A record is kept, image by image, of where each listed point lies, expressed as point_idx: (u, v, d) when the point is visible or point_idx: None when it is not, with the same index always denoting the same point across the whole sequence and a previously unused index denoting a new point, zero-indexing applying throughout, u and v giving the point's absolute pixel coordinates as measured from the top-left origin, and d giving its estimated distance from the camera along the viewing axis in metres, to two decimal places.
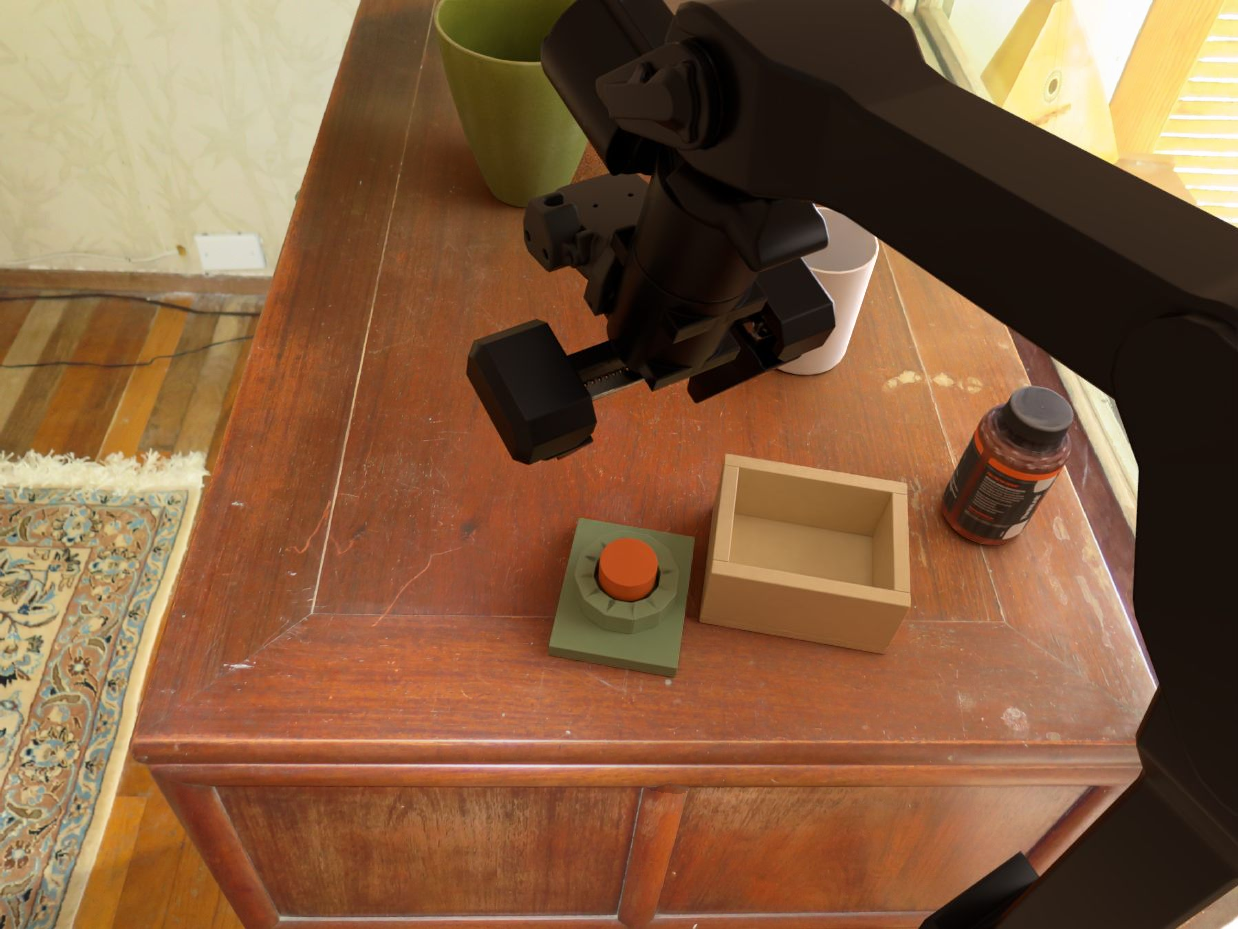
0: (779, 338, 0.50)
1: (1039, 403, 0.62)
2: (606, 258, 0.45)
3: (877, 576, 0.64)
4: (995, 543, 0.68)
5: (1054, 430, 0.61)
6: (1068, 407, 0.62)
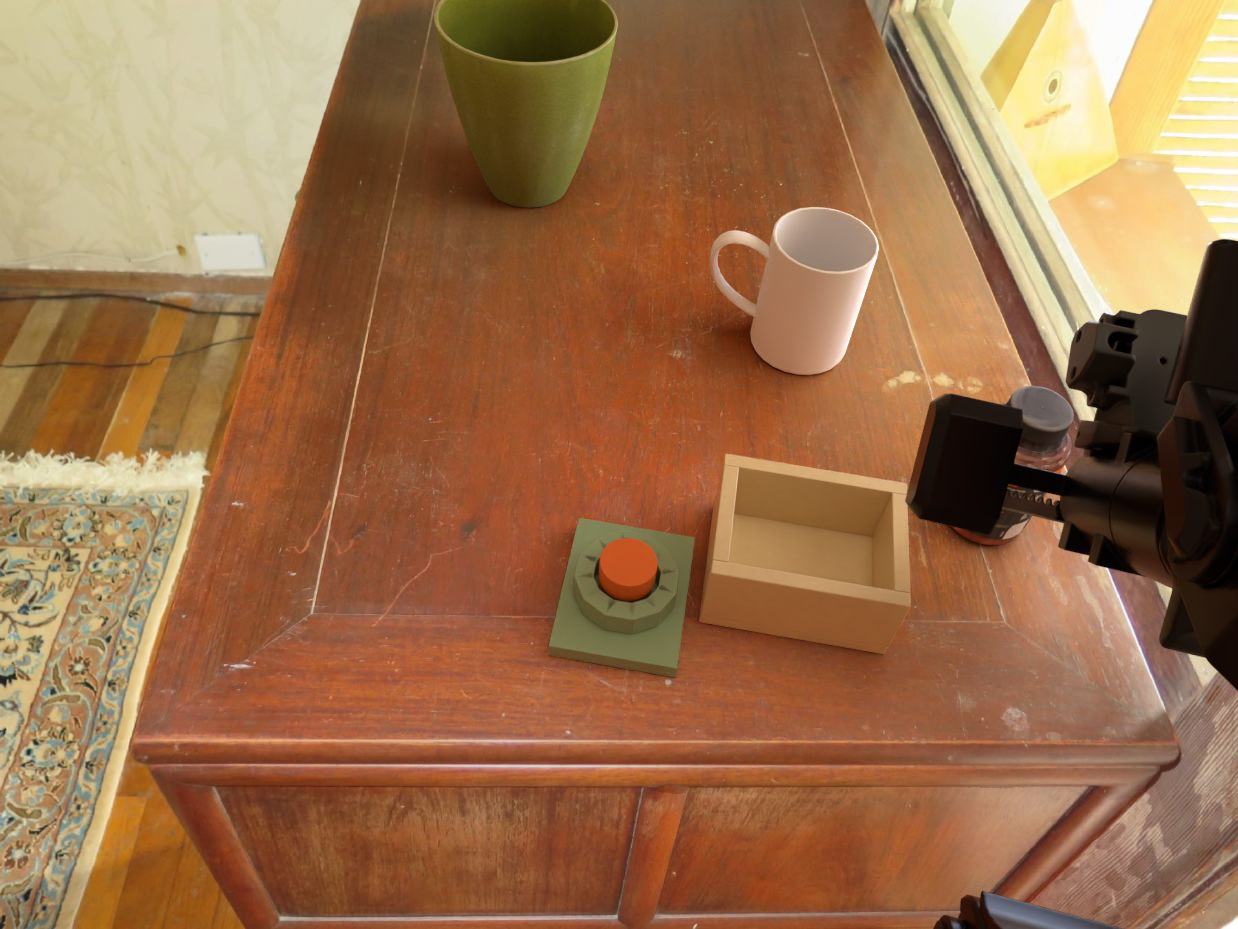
0: None
1: (1039, 403, 0.62)
2: (1113, 433, 0.43)
3: (877, 576, 0.64)
4: (995, 543, 0.68)
5: (1054, 430, 0.61)
6: (1068, 407, 0.62)
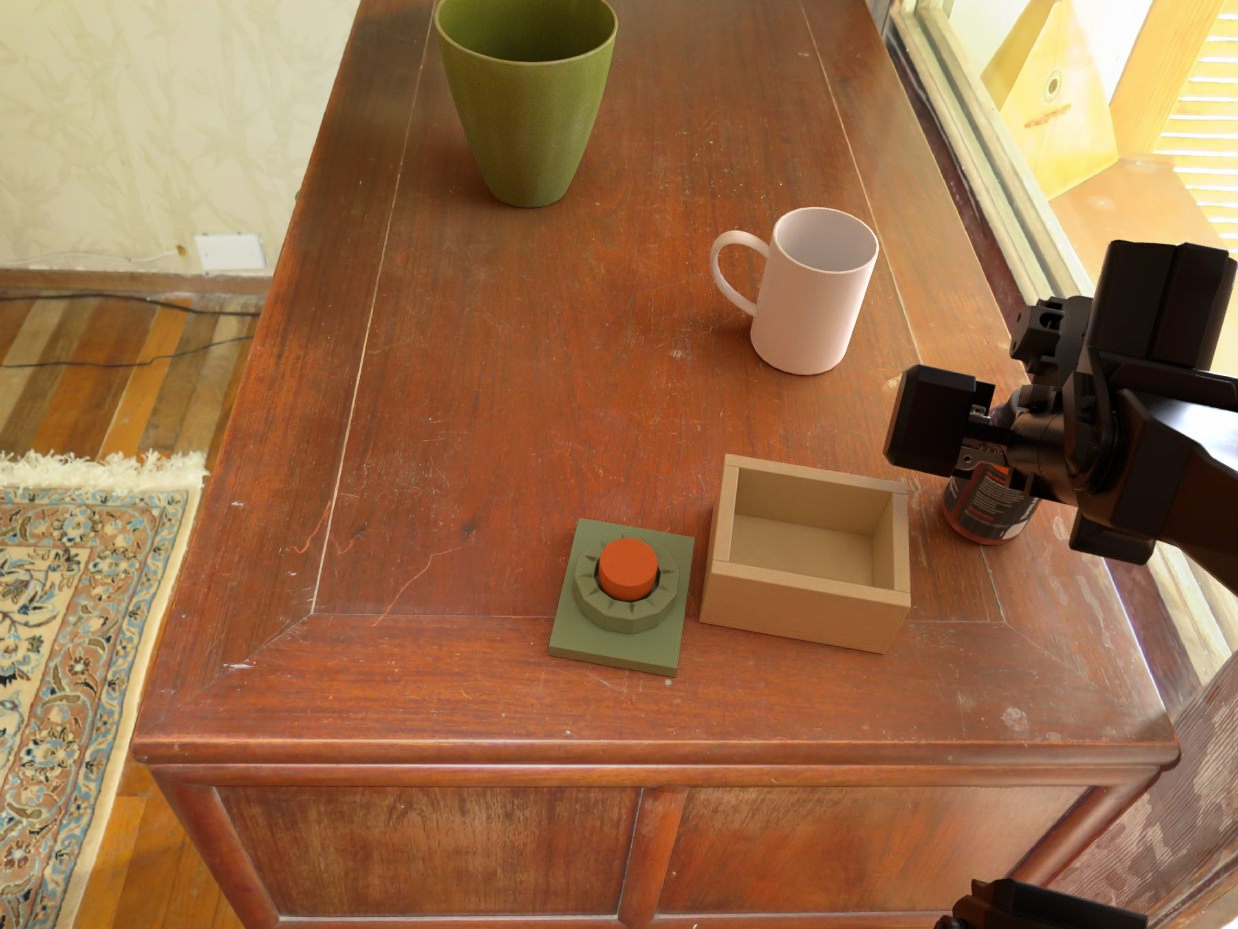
0: None
1: None
2: (1044, 393, 0.54)
3: (877, 576, 0.64)
4: (995, 543, 0.68)
5: None
6: None
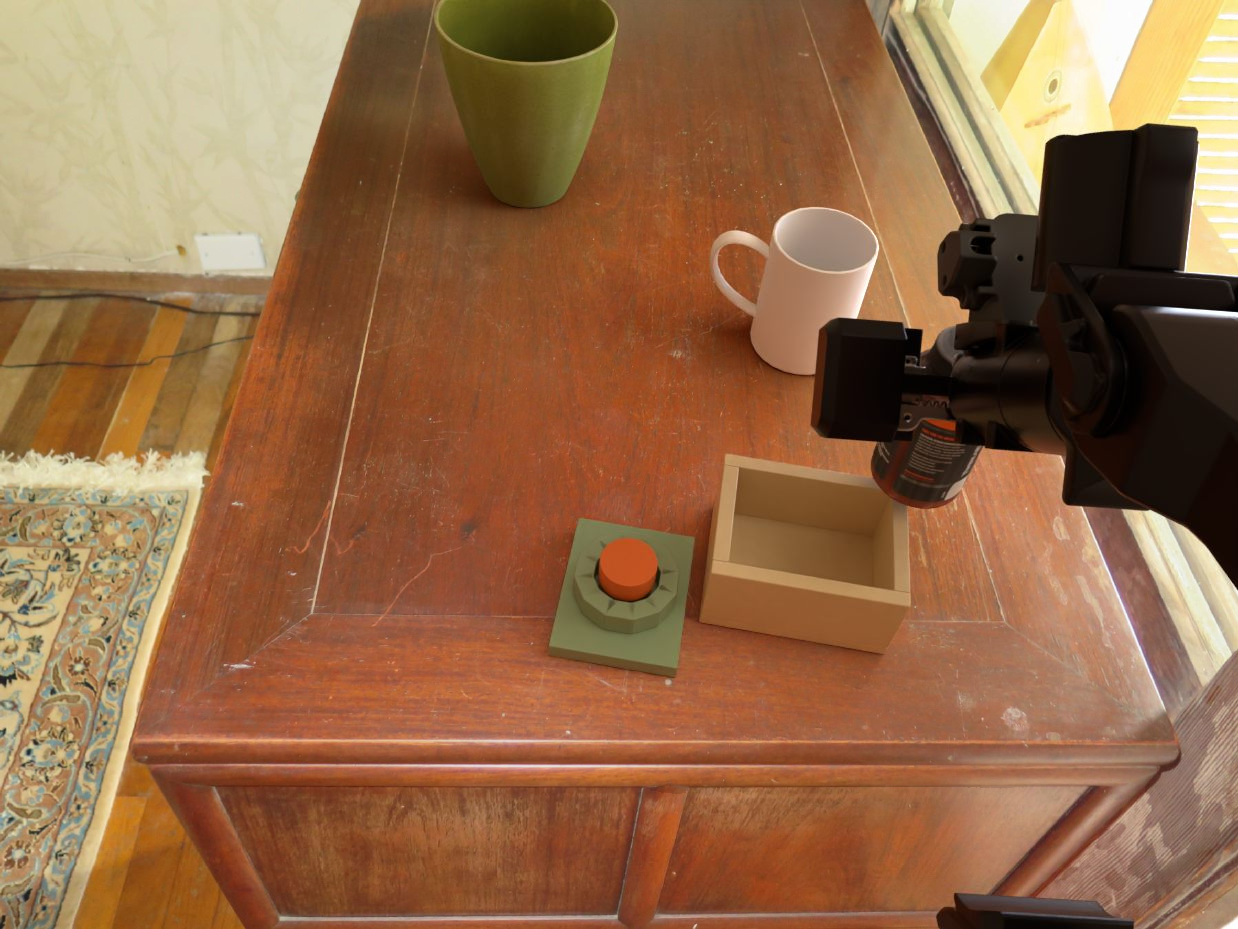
0: None
1: None
2: (988, 329, 0.47)
3: (877, 576, 0.64)
4: (937, 506, 0.61)
5: None
6: None
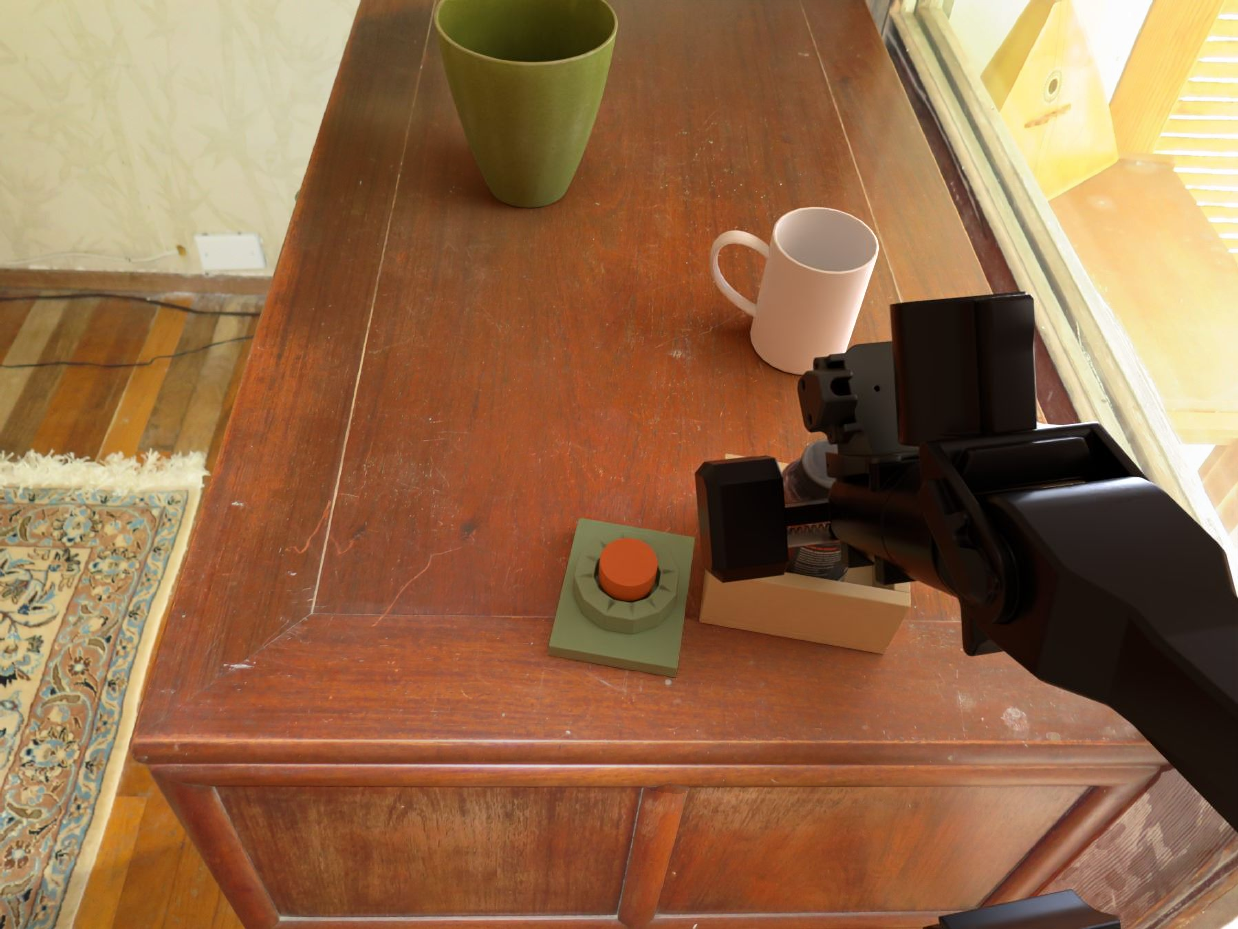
0: None
1: None
2: (860, 465, 0.48)
3: None
4: None
5: None
6: None
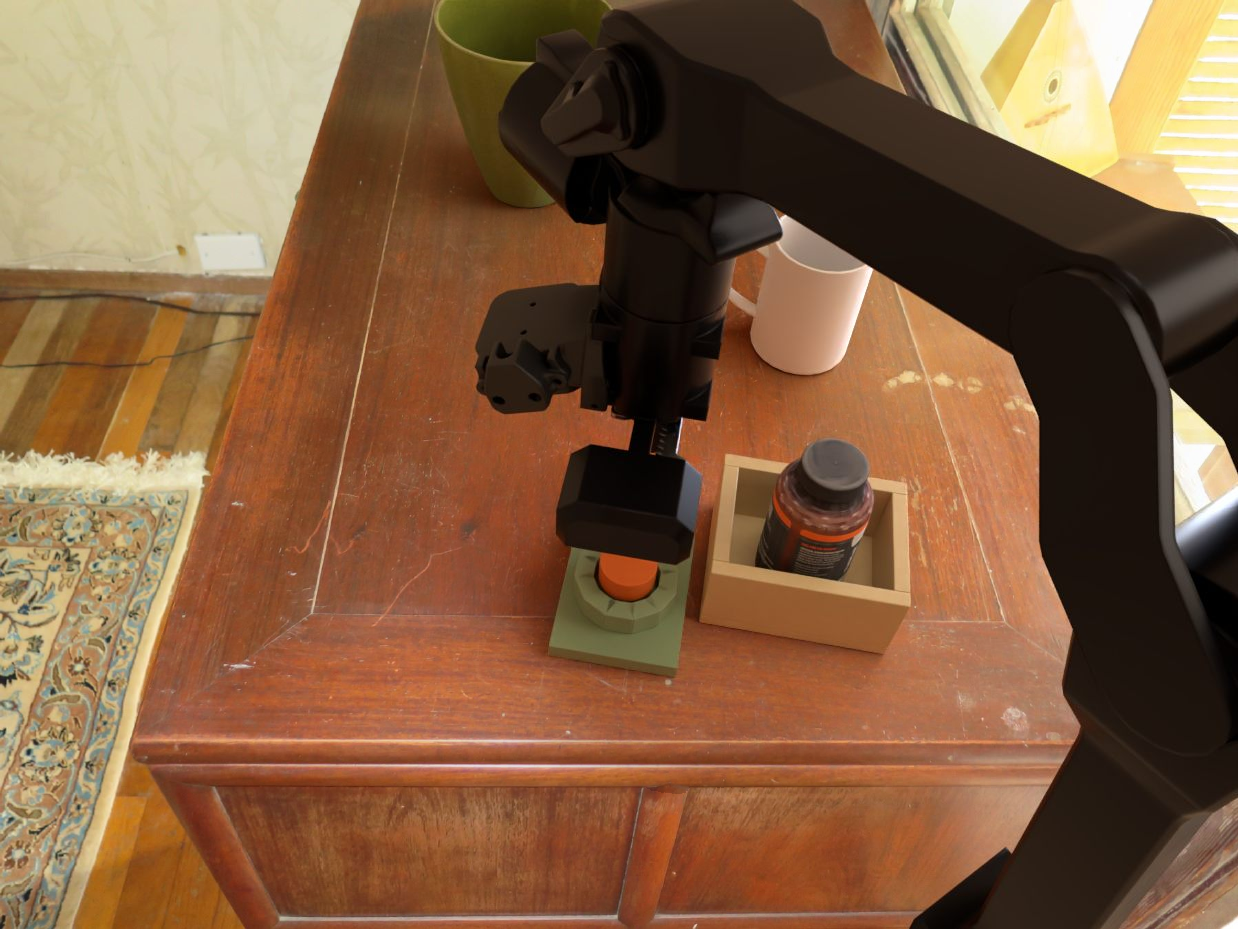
0: None
1: (831, 459, 0.57)
2: (593, 352, 0.44)
3: (877, 576, 0.64)
4: None
5: (857, 485, 0.56)
6: (859, 454, 0.58)
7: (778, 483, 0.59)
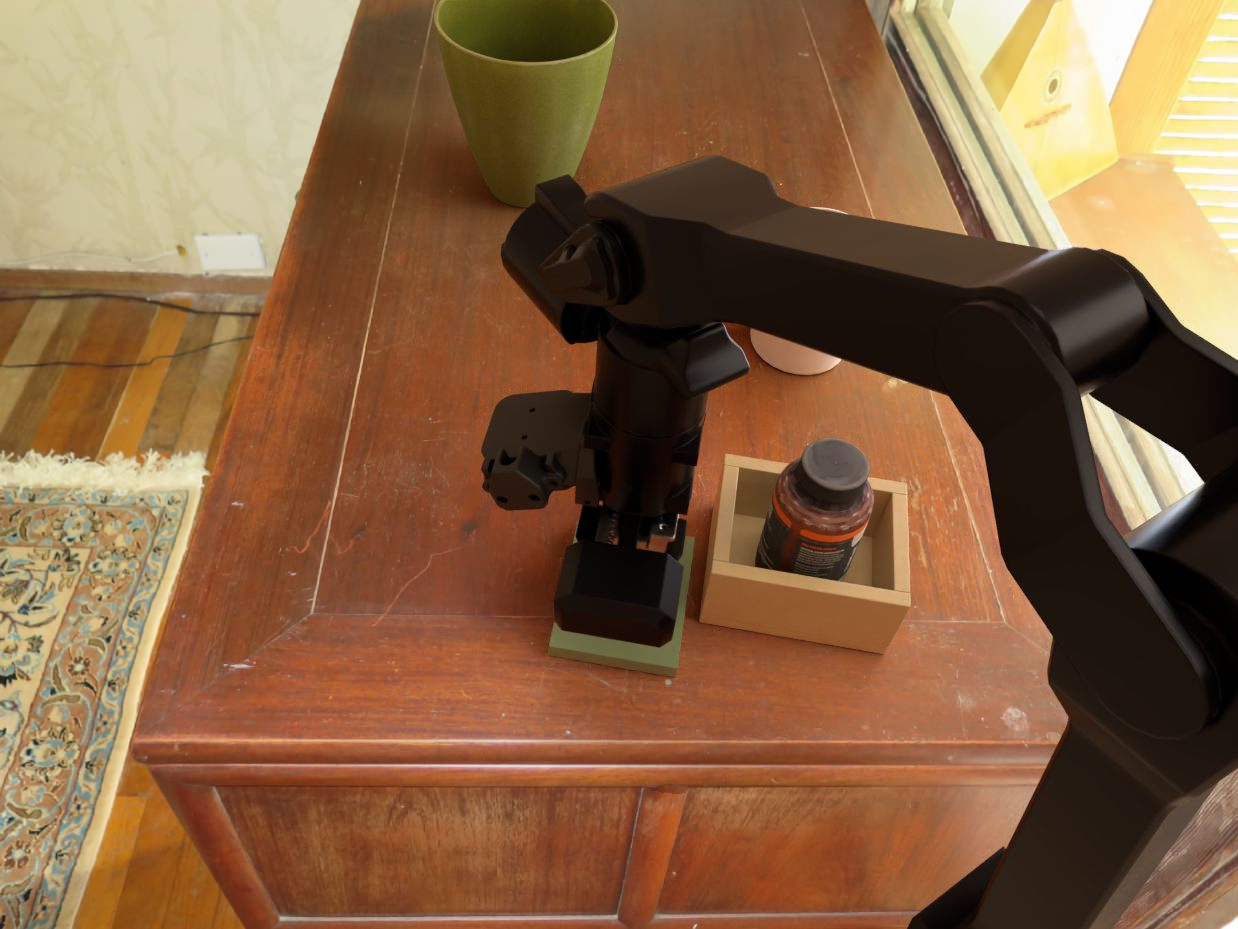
0: None
1: (831, 459, 0.57)
2: (586, 458, 0.50)
3: (877, 576, 0.64)
4: None
5: (857, 485, 0.56)
6: (860, 454, 0.58)
7: (778, 483, 0.59)
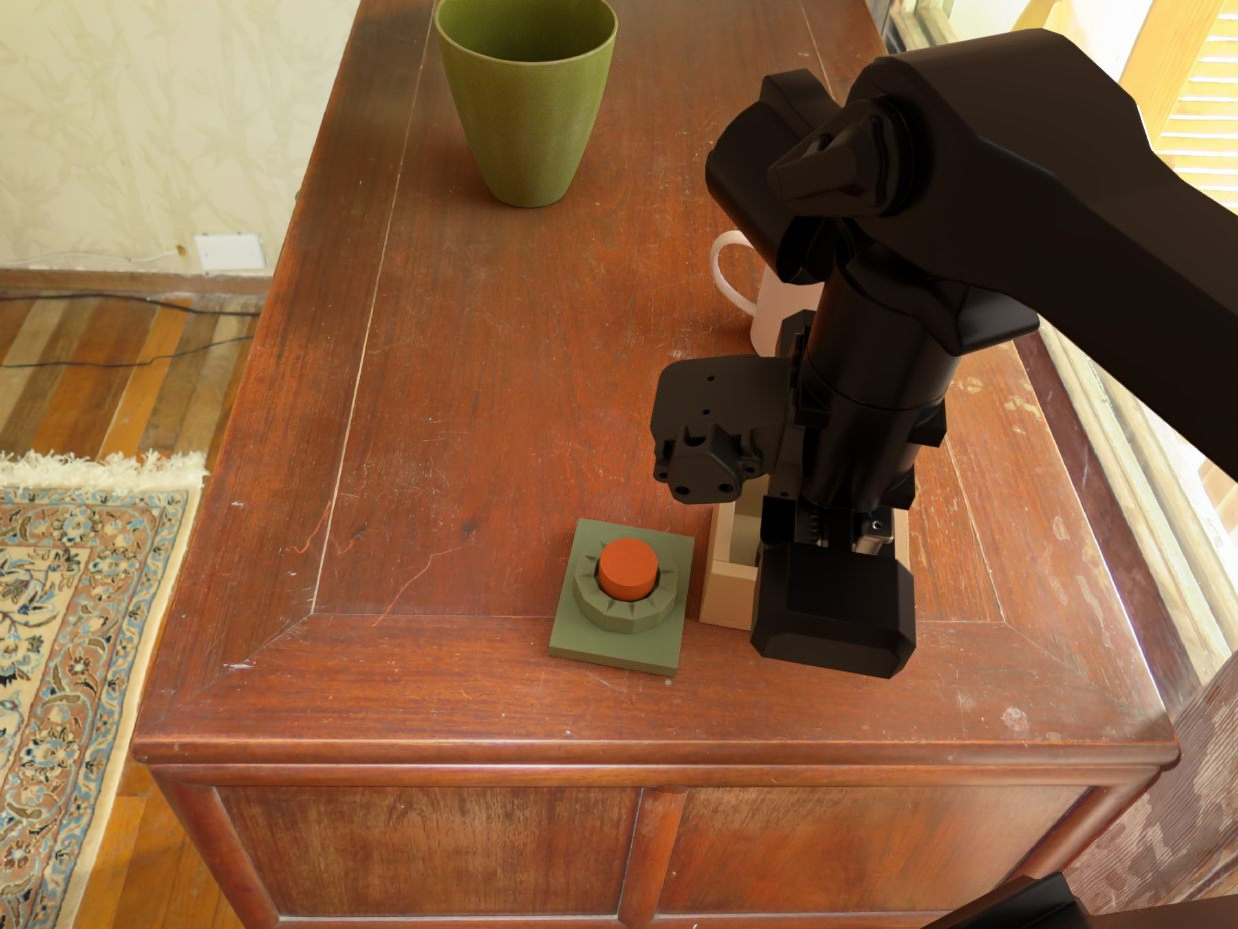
0: None
1: None
2: (793, 438, 0.39)
3: None
4: None
5: None
6: None
7: None
